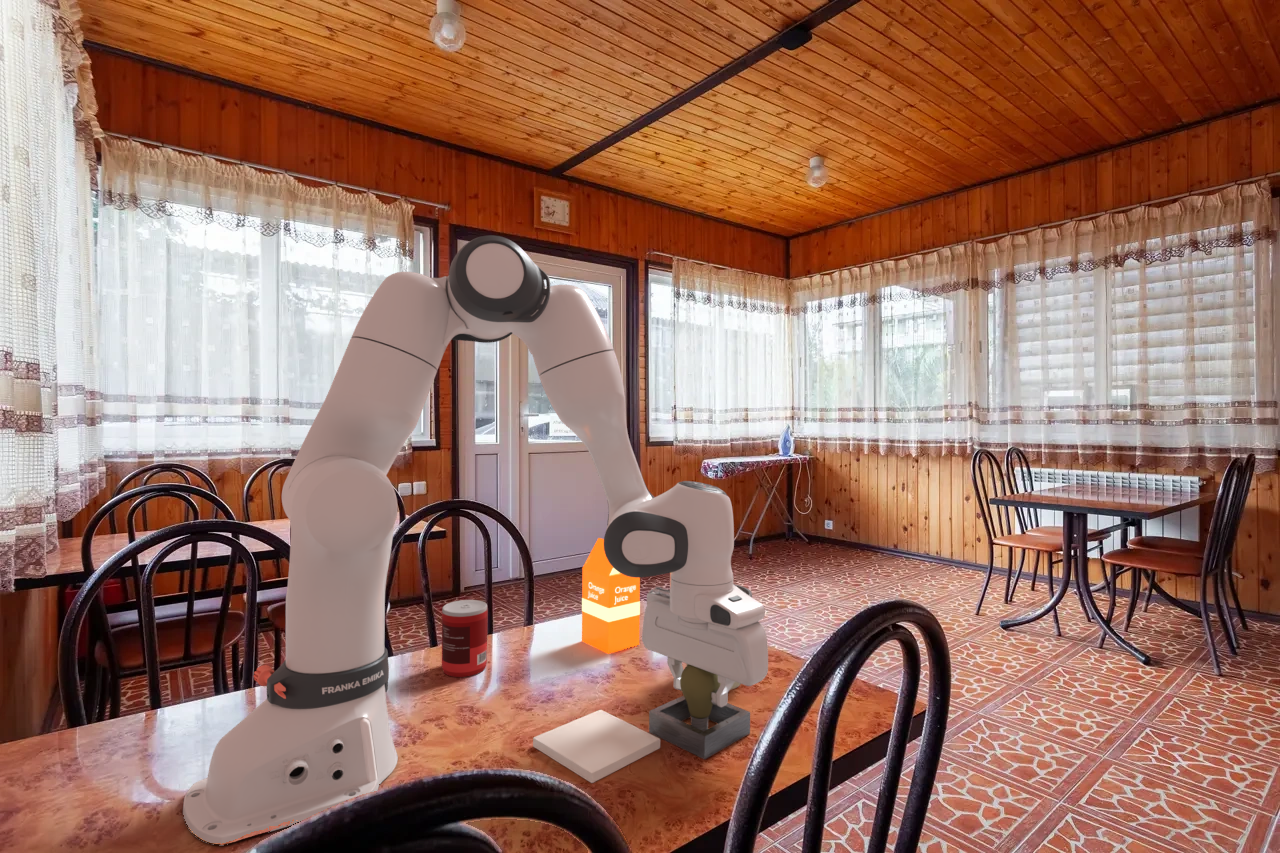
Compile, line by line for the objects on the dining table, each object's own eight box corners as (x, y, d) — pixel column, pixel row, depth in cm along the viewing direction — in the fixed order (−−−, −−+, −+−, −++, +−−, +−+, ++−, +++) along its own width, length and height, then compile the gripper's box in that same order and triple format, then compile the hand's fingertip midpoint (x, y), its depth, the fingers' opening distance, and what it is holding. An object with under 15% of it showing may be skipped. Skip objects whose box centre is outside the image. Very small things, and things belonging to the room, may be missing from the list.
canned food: (483, 658, 117) (484, 597, 117) (490, 674, 110) (490, 610, 110) (439, 663, 115) (440, 601, 114) (443, 680, 107) (443, 614, 107)
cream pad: (591, 783, 78) (592, 773, 78) (533, 746, 86) (533, 737, 86) (660, 747, 86) (660, 738, 86) (600, 717, 95) (600, 709, 95)
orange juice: (612, 633, 132) (613, 535, 131) (640, 645, 125) (641, 542, 124) (580, 641, 127) (581, 539, 126) (607, 654, 120) (608, 547, 119)
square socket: (704, 759, 83) (704, 736, 83) (649, 732, 90) (649, 710, 90) (749, 733, 90) (750, 712, 90) (695, 709, 97) (695, 690, 97)
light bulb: (719, 724, 93) (720, 655, 93) (720, 744, 87) (721, 670, 87) (680, 722, 93) (681, 653, 93) (678, 741, 88) (679, 668, 88)
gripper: (633, 587, 95) (631, 680, 95) (747, 619, 81) (745, 729, 81) (662, 580, 100) (661, 669, 100) (775, 609, 85) (773, 713, 85)
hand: (699, 696), depth 90 cm, fingers closed on light bulb, 5 cm apart
